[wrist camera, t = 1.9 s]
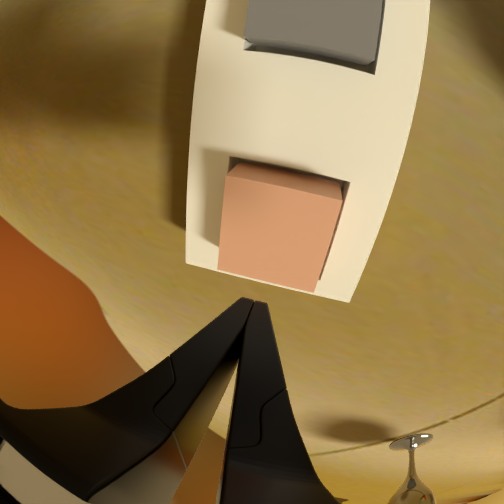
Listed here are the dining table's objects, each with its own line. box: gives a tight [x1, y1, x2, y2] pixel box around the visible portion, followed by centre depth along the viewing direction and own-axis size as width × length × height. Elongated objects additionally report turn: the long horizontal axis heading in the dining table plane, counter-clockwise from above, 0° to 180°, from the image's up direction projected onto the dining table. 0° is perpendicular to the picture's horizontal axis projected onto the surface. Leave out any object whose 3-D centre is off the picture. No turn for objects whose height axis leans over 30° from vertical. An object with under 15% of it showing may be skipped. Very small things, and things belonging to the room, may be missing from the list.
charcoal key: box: [243, 0, 383, 66], centre depth 8 cm, size 5×5×2 cm
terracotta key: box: [217, 162, 343, 293], centre depth 14 cm, size 5×5×2 cm
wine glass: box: [388, 434, 437, 504], centre depth 24 cm, size 8×8×15 cm
